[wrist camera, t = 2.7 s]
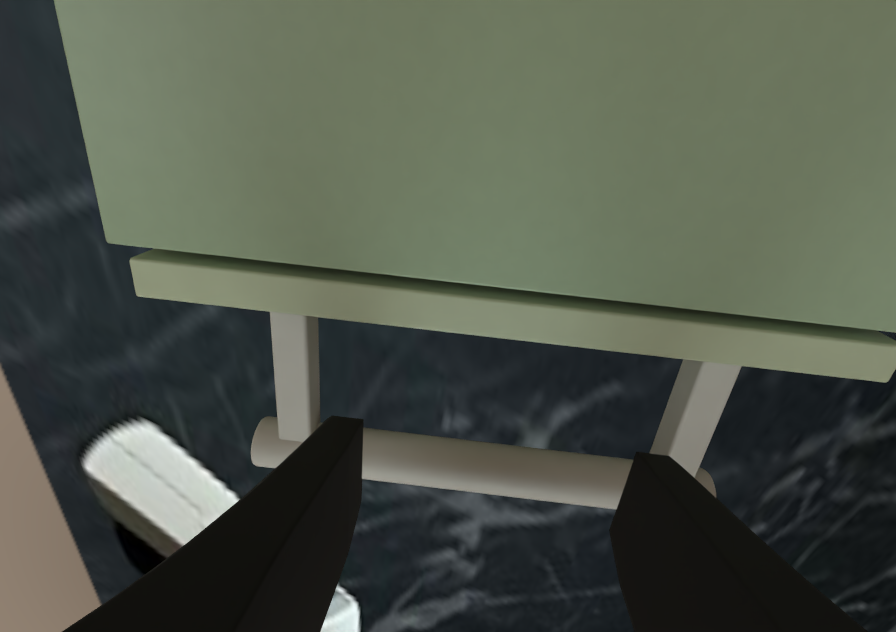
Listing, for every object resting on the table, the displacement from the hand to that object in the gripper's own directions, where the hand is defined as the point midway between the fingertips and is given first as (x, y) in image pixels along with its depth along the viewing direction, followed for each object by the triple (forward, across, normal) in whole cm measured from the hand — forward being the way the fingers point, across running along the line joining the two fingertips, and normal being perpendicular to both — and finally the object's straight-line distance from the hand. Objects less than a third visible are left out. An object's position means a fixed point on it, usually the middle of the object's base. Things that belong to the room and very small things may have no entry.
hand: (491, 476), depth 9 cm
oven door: (+10, 0, -1) cm, 10 cm away
